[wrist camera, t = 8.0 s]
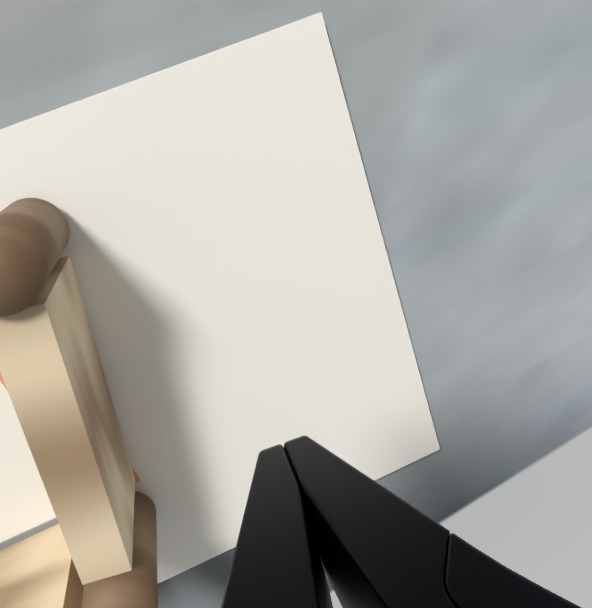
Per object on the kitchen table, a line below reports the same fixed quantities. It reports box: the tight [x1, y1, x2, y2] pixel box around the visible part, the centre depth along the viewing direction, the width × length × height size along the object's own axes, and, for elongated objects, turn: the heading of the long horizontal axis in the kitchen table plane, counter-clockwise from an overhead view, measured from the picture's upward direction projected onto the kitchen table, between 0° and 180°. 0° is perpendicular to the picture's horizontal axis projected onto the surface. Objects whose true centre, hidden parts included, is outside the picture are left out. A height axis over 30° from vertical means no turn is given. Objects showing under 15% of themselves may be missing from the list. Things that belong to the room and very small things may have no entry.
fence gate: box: [0, 198, 158, 608], centre depth 16 cm, size 14×2×6 cm, turn 7°
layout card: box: [0, 12, 440, 584], centre depth 19 cm, size 25×19×1 cm
